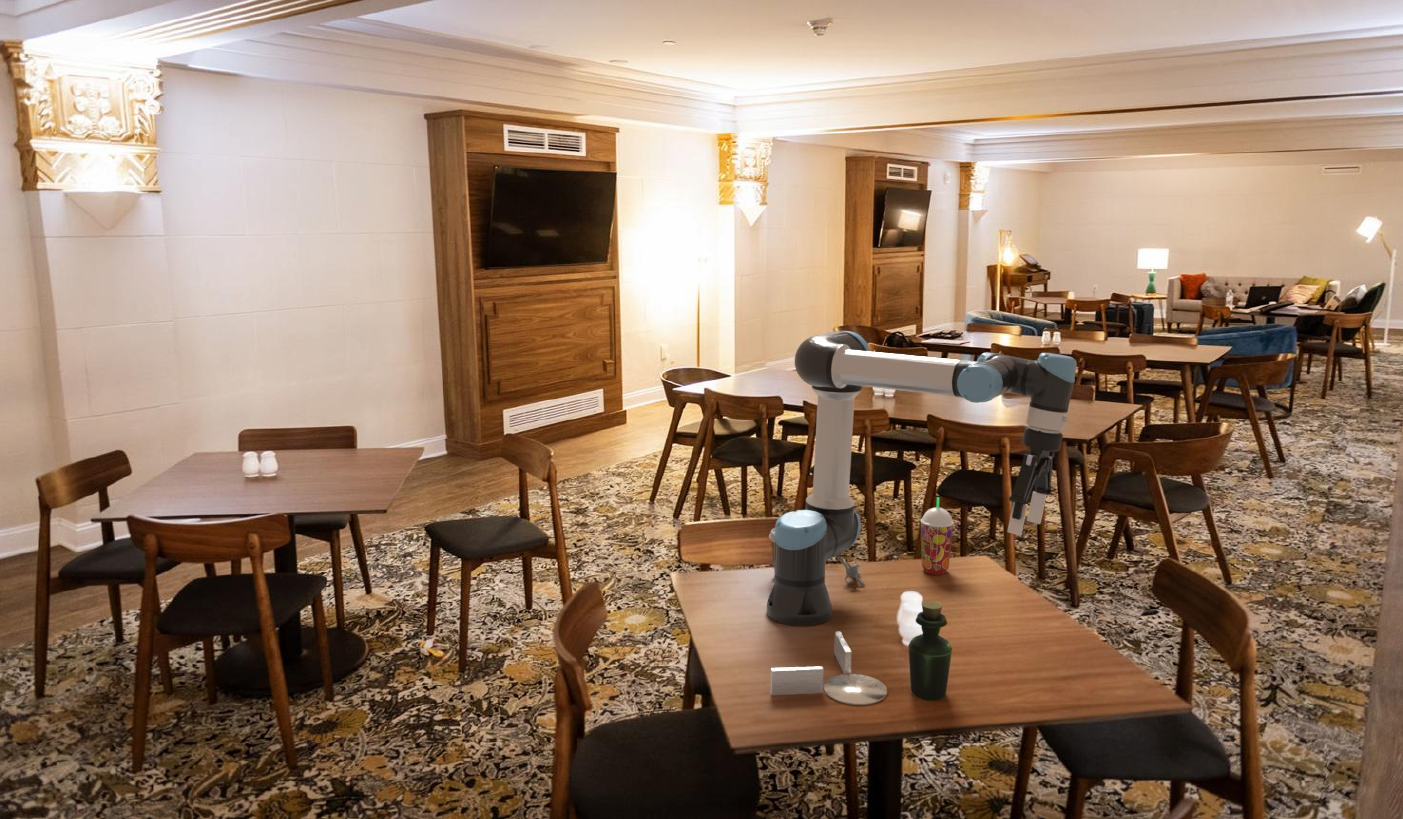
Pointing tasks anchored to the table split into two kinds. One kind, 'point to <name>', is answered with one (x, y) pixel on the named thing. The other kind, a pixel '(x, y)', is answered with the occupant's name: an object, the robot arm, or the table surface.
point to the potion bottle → (929, 655)
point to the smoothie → (936, 540)
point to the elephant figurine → (852, 571)
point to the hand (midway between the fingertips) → (1024, 527)
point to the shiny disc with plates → (838, 688)
